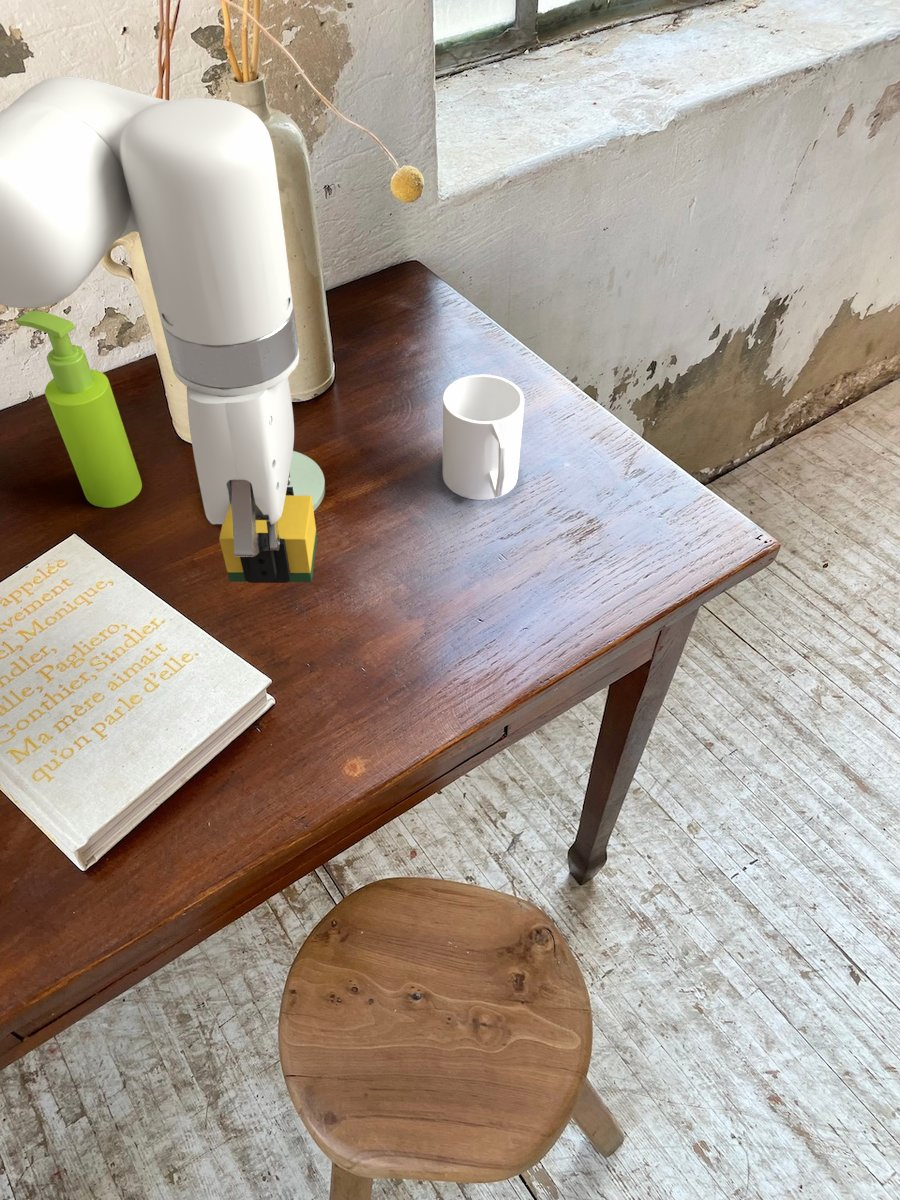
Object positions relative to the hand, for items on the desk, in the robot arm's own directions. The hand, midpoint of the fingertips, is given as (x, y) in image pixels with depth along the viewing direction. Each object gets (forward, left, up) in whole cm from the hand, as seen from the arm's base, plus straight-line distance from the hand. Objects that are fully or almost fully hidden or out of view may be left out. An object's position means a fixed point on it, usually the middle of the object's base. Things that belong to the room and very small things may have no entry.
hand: (272, 551), depth 67 cm
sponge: (0, 0, -1) cm, 1 cm away
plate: (-5, +25, -17) cm, 31 cm away
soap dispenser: (-22, +26, -17) cm, 39 cm away
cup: (+18, +26, -17) cm, 36 cm away
